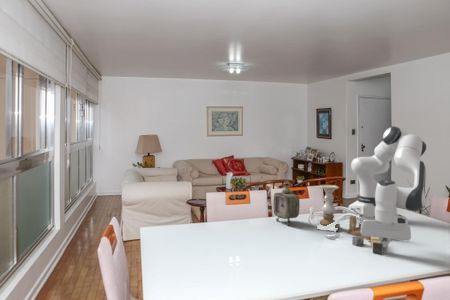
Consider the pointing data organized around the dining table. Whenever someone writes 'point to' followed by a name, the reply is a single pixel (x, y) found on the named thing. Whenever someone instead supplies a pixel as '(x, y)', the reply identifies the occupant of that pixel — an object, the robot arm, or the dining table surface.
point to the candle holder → (328, 206)
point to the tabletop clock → (286, 204)
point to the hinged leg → (376, 245)
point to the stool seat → (357, 228)
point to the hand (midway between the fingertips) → (384, 247)
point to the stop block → (358, 240)
